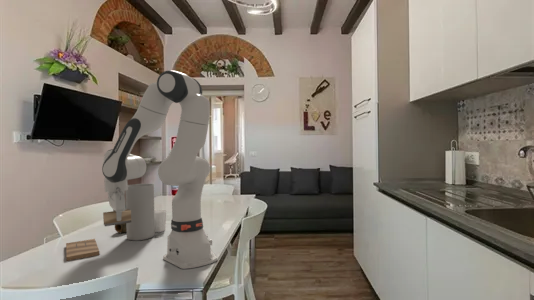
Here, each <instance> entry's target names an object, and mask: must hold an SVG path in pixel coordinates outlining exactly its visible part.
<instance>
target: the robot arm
mask: <svg viewBox="0 0 534 300" xmlns="http://www.w3.org/2000/svg"><path fill="white" fill-rule="evenodd" d="M173 103H174V104H179V105H180V108H181V112H180V119H179V124H178V129H177V134H176V139H175V141H174V143H173V146H172V148H171V150H170V152H169V154H168V156H167V157H166V158H165V159H164V160H163V161H162V162H160V164H159V166H158V170H157V173H158V174H157V176H158V178H159V180H160V181H161V183H163V184H164V185H166V186H173V187H177V191H176V193H175V195H173V198H172V200H171V217H172V218H171V221H170V229H171V231H170V233H169V234H168V236H167V245H166V246H167V247H166V254H164V255H163V258H162V259H163V260H164V261H166V262H167V263H170V264H172V265H173V266H175V267H178V268H180V269H182V270H183V269H193V268H199V267H204V266H207V265H211V264H212V263H215V262H217V261H218V257H217V256H216V254H215V253H214V251H213V250H212V249H211V246H213V239H209V236H208V234H206V232H205V230H204V222H203V217H202V206H201V205H202V195H203V194H202V193H203V188H204V185H205V182H206V179H207V178H208V176H209V174H210V172H211V166H210V163H209V162H208V160H206V159H205V158H203V157H200V156H198V154H199V153H200V151H201V149H203V147H204V146H205V145H206V139H207V134H208V129H209V124H210V114H211V103H210V100H209V99H208V97H206V96H205V95H203V88H202V85H201V83H200V82H199V81H198V80H196V79H195V78H193V77H191V76H189V75H188V74H186V73H183V72H180V71H177V70H170V69H169V70H165V71H163V72H161V73H160V74H159V75H158V77H157V80H156V82H151V83H150V84H149V85H148V86H147V88H146V90H145V91H144V93H143V95H142V98H141V100H140V102H139V105H138V107H137V110H136V112H135V113H134V115H133V116H132V117H131V118H130V120H128V121H127V123H126V124H125V125H124V127H123V128H122V131H121V132H120V134H119V136H118V139H117V140H116V142H115V144H114V147H113V148H111V149H108V150H106V151H105V152H104V156H103V163H102V167H101V168H102V169H101V170H102V175H103V177H104V179H103V180H104V182H103V184H104V193H107V199H108V203H109V206H110V207H111V208H112V211H116V220H117V221H121V216H122V211H125V210H126V190H128V185H129V183H128V181H129V180H134V179H138V178H139V179H140V178H142V177H144V176H145V175H146V173H147V170H148V164H147V162H146V159H145V158H144V157H142V156H138V155H135V154H132V153H131V152H132V150H133V148H134V146H135V144H136V143H137V141H138V140H139V139H140V138H142V137H143V136H145V135H147V134H150V133H153V132H155V131H157V130H160V128H162V126H163V124H164V123H165V120H166V118H167V115H168V112H169V110H170V107H171V106H172V104H173Z"/></svg>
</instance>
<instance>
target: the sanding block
mask: <svg viewBox="0 0 534 300" xmlns="http://www.w3.org/2000/svg"><path fill="white" fill-rule="evenodd" d="M102 215H103V217H102V218H103V226H104V227H110V226H115V225H118V224H124V223H130V222H131V210H129V209H126V208H125V211H122V216H121V221H117V220H116V211H113V210H112V211H105V212H103V213H102Z"/></svg>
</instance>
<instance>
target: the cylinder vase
mask: <svg viewBox="0 0 534 300" xmlns="http://www.w3.org/2000/svg"><path fill="white" fill-rule="evenodd" d="M125 207H126V208H125V210H126V209H129V210H131V222H130V223H126V228H127V232H126V238H127V240H128V241H144V240H148V239H151V238H153V237H154V236H155V234H156V232H155V218H154V210H155V184H153V183H136V184H135V183H134V184H128V190H126V191H125Z"/></svg>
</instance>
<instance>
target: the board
mask: <svg viewBox="0 0 534 300" xmlns="http://www.w3.org/2000/svg"><path fill="white" fill-rule="evenodd" d="M65 248H66V262H70V261H73V260H79V259H83V258H84V259H85V258H89V257H95V256H100V249H99V246H98V244H97V241H96V238H91V239H85V240H78V241H72V242H71V241H70V242H66V243H65Z"/></svg>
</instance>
